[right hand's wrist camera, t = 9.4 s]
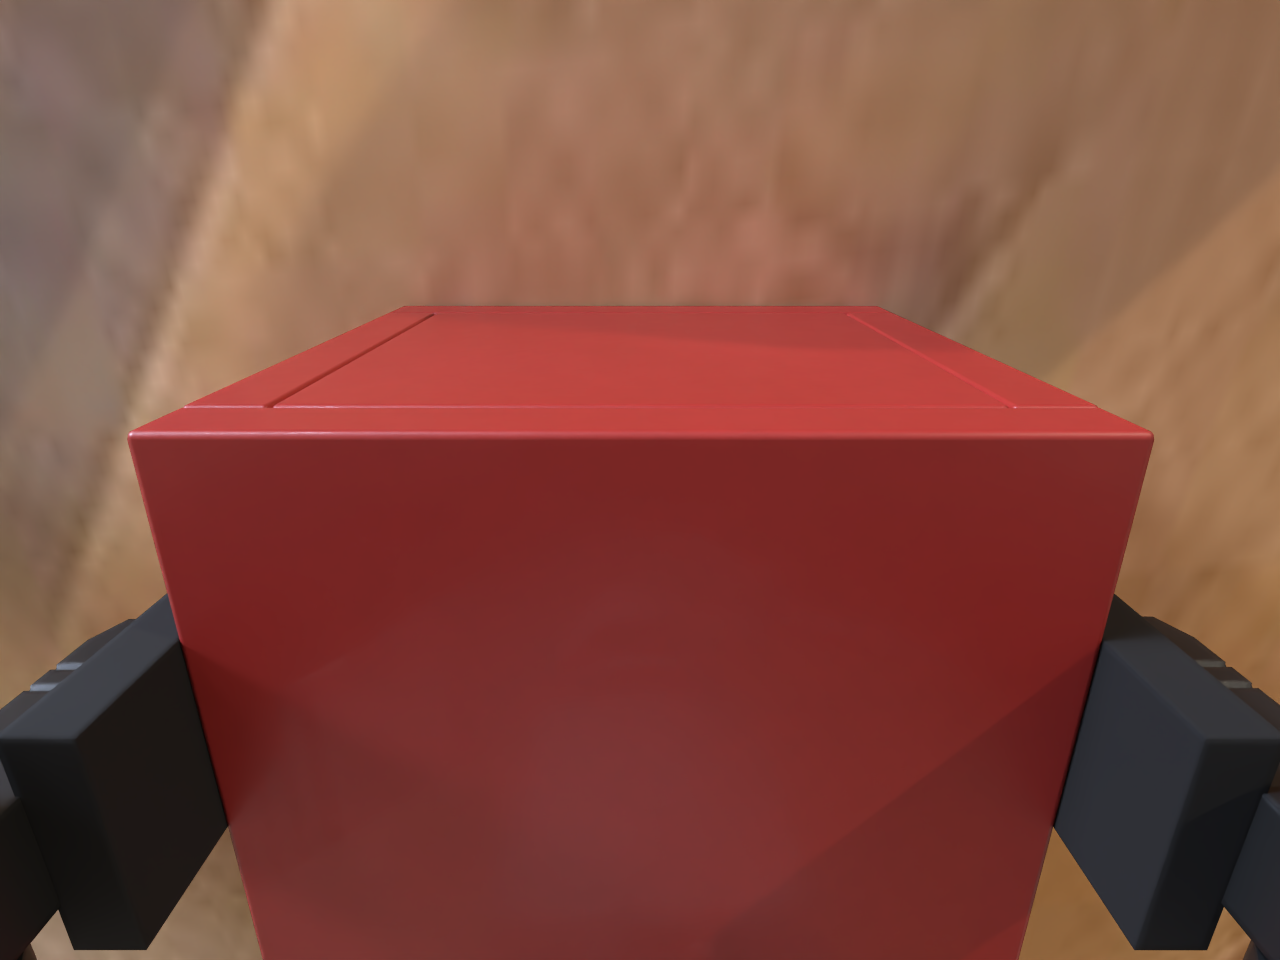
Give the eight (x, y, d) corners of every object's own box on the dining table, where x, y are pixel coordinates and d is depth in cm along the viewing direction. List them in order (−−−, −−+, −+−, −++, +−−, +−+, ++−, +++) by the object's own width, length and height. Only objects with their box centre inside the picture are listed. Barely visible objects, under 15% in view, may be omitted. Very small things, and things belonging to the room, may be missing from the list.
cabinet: (824, 792, 21) (954, 1215, 12) (457, 792, 21) (326, 1214, 12) (879, 305, 16) (1160, 431, 7) (401, 305, 16) (120, 431, 7)
